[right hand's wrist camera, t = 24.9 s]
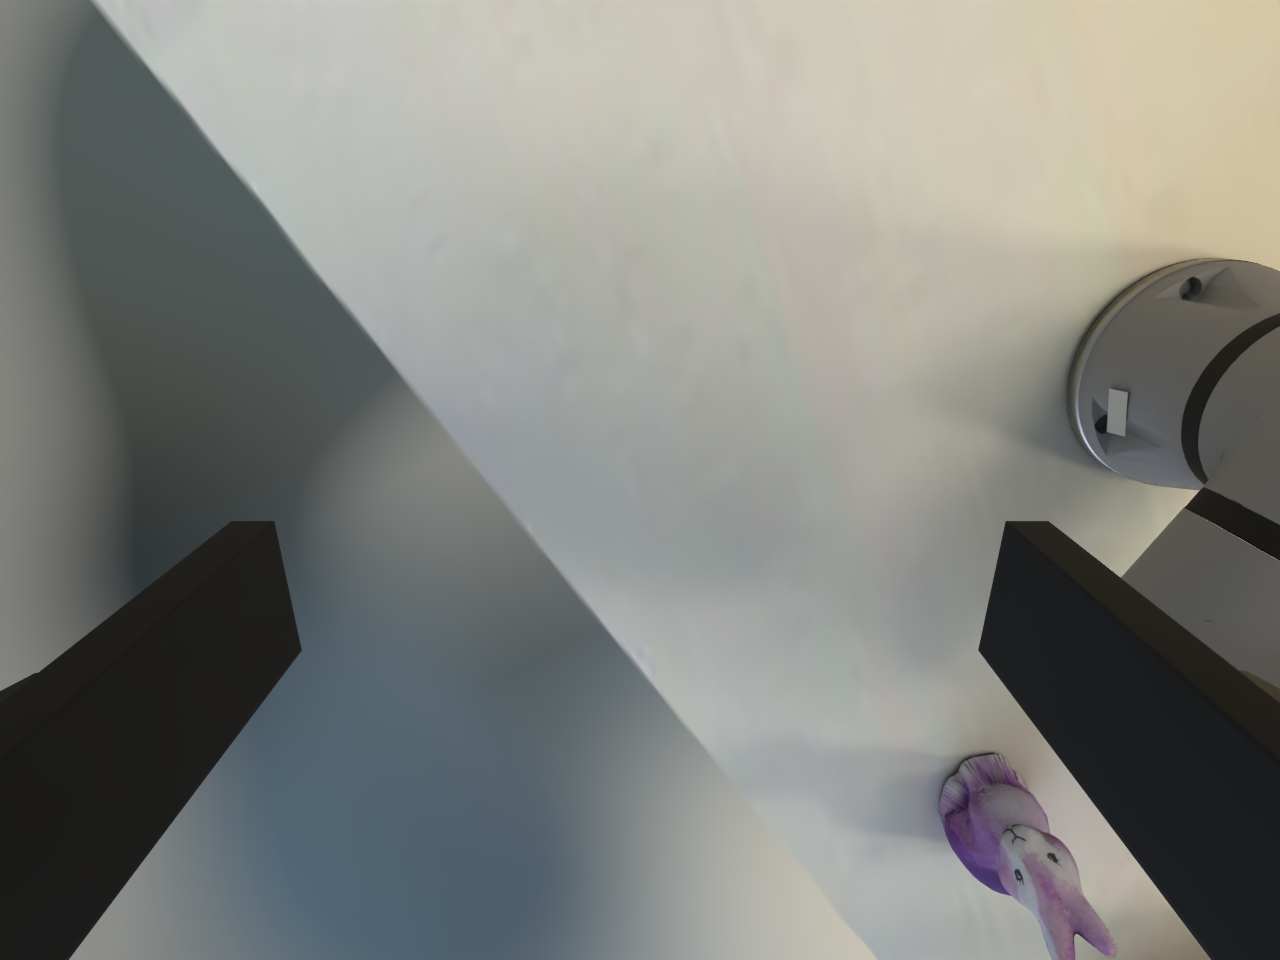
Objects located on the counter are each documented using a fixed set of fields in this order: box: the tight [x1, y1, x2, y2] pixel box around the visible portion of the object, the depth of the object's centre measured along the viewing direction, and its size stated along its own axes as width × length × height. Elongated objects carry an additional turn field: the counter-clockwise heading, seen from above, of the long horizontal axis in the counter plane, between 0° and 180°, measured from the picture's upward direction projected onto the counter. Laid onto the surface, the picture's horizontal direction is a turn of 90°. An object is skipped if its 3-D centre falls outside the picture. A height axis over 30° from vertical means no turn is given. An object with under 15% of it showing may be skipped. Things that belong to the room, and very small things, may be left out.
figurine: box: [939, 754, 1117, 960], centre depth 55 cm, size 9×10×15 cm
